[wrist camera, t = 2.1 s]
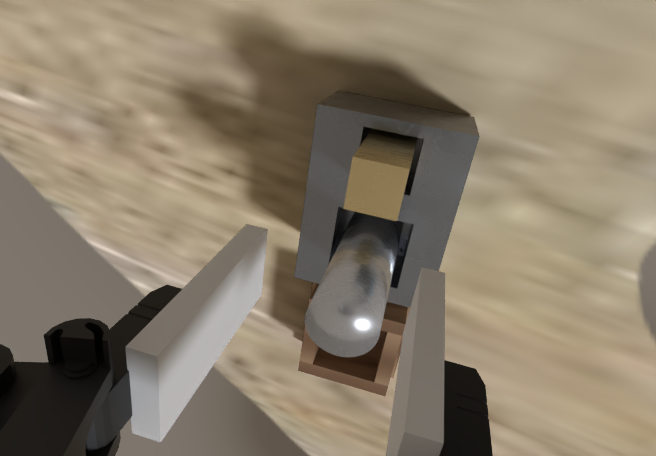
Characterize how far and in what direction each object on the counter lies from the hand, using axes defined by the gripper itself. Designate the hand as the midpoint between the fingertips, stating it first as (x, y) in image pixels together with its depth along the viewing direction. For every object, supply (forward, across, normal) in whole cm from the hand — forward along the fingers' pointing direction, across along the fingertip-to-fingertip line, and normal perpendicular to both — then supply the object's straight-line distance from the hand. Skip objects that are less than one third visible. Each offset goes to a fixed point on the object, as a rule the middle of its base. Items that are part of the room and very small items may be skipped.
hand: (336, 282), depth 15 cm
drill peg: (+20, 0, -6) cm, 21 cm away
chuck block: (+21, 0, -4) cm, 21 cm away
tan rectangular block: (+16, 0, 0) cm, 16 cm away
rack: (+21, 0, -17) cm, 27 cm away
